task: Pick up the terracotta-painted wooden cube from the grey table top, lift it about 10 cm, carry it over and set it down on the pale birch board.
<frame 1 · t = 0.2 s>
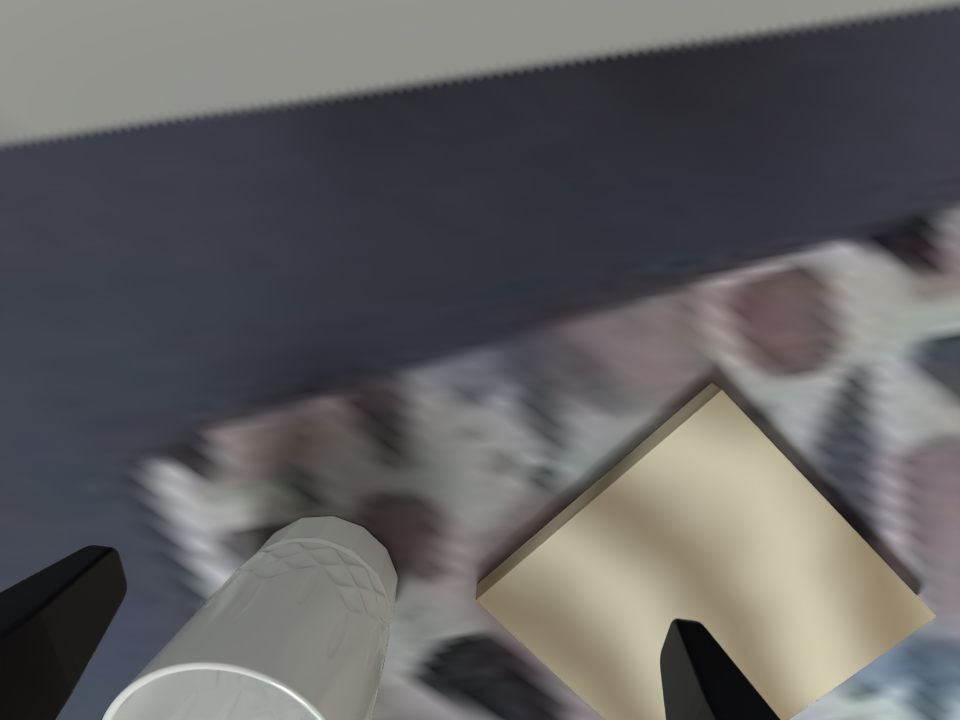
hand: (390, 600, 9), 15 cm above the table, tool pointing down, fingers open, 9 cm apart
white cup: (330, 576, 27), on the table
birch board: (692, 591, 25), on the table
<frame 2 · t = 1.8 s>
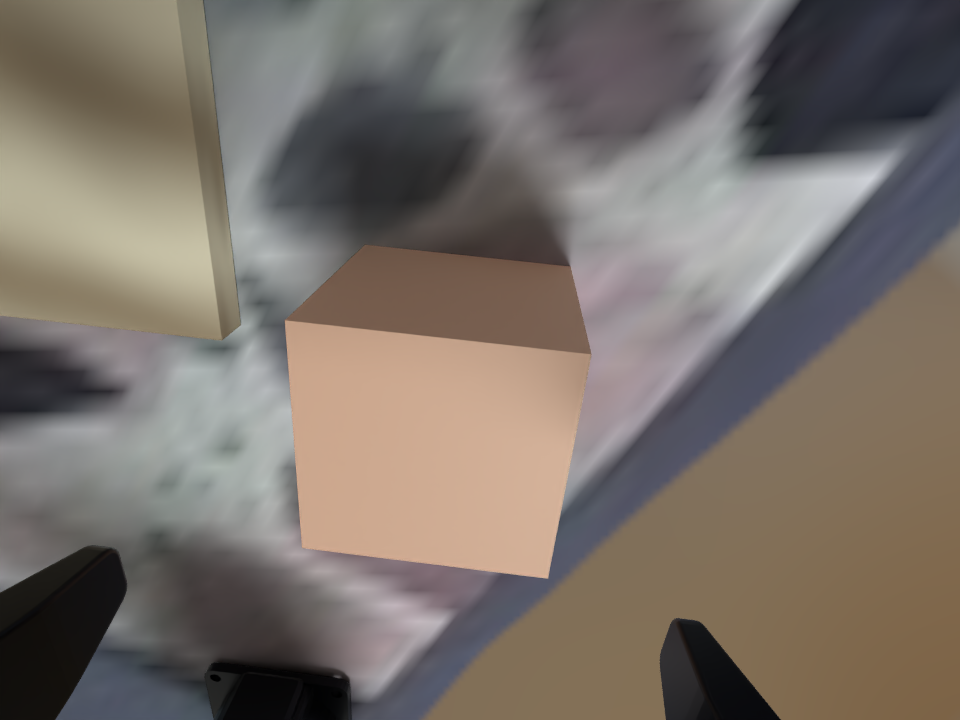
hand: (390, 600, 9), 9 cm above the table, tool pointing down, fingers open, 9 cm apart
terracotta cube: (460, 347, 17), on the table
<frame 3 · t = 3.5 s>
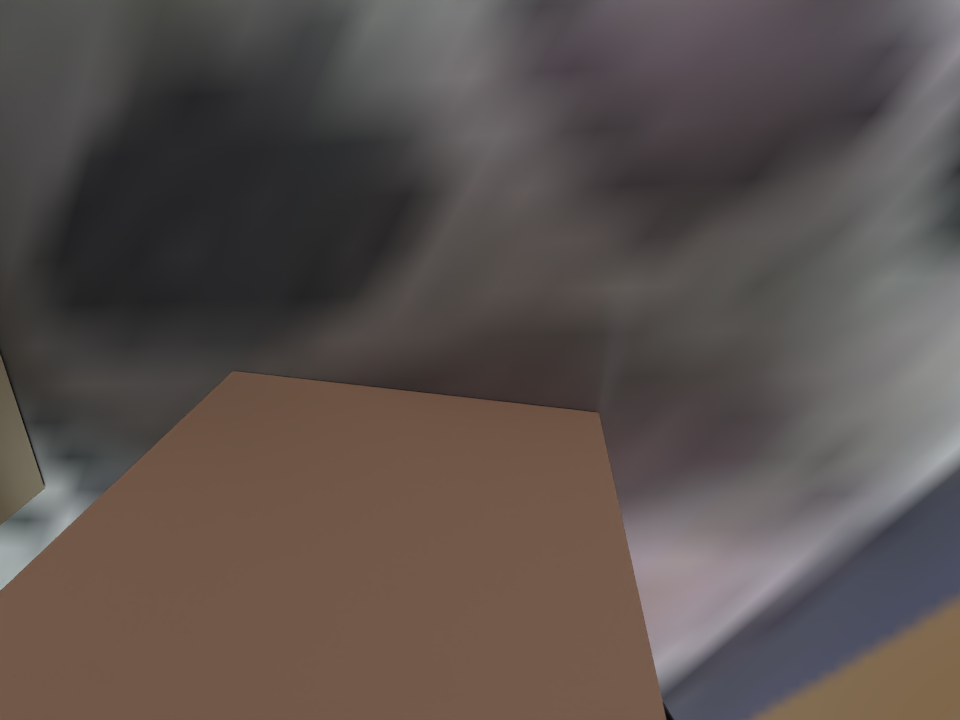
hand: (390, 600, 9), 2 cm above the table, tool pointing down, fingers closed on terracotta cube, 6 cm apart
terracotta cube: (408, 531, 10), on the table, touching gripper
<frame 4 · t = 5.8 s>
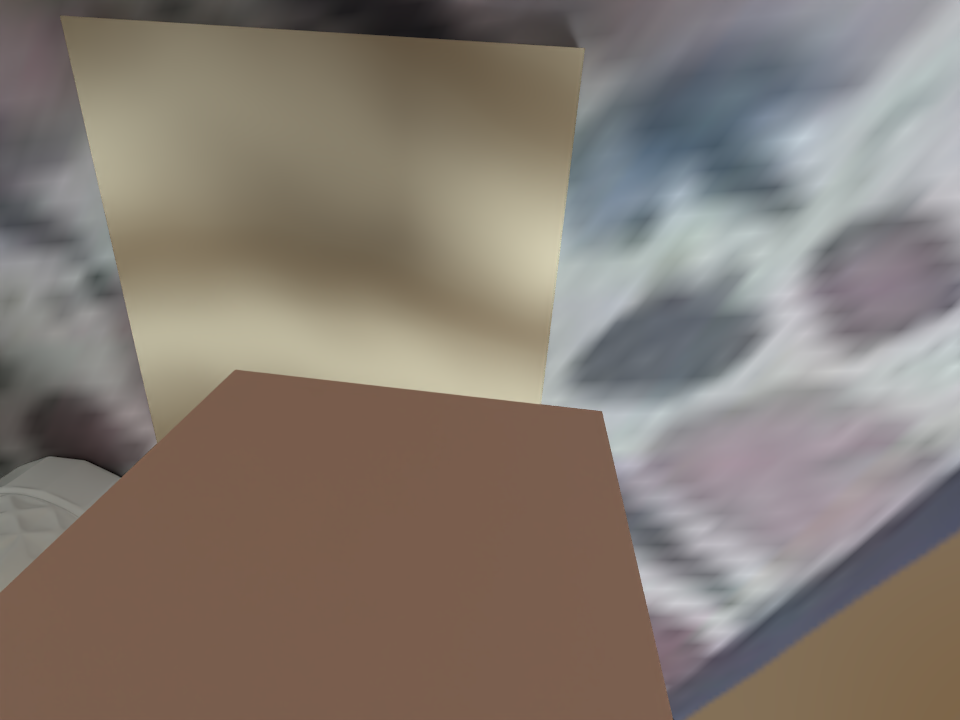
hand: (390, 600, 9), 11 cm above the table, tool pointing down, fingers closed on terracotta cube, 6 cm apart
white cup: (90, 514, 24), on the table
terracotta cube: (410, 530, 10), point 10 cm above the table, touching gripper
birch board: (342, 276, 19), on the table
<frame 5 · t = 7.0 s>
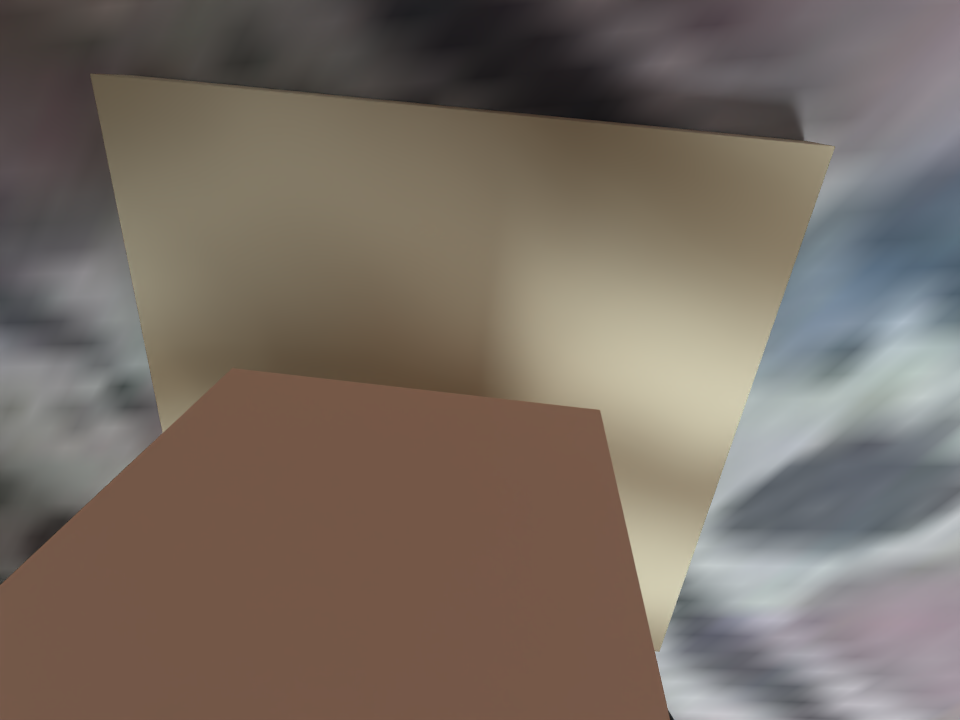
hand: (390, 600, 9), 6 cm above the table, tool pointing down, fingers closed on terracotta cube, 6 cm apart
terracotta cube: (408, 529, 10), point 5 cm above the table, touching gripper
birch board: (442, 399, 14), on the table
when the fingers open (4 cm above the table, at t = 8.2 s): terracotta cube drops 2 cm, resting on birch board.
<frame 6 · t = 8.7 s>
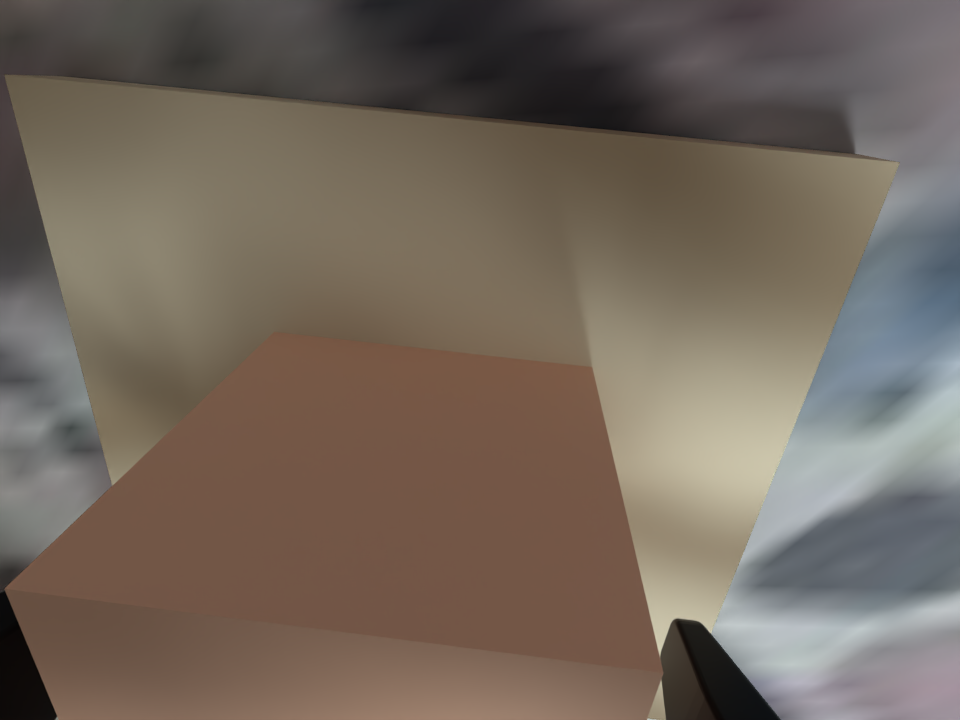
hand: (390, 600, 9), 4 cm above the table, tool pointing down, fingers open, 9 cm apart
terracotta cube: (425, 477, 12), point 1 cm above the table, touching birch board
birch board: (431, 445, 13), on the table
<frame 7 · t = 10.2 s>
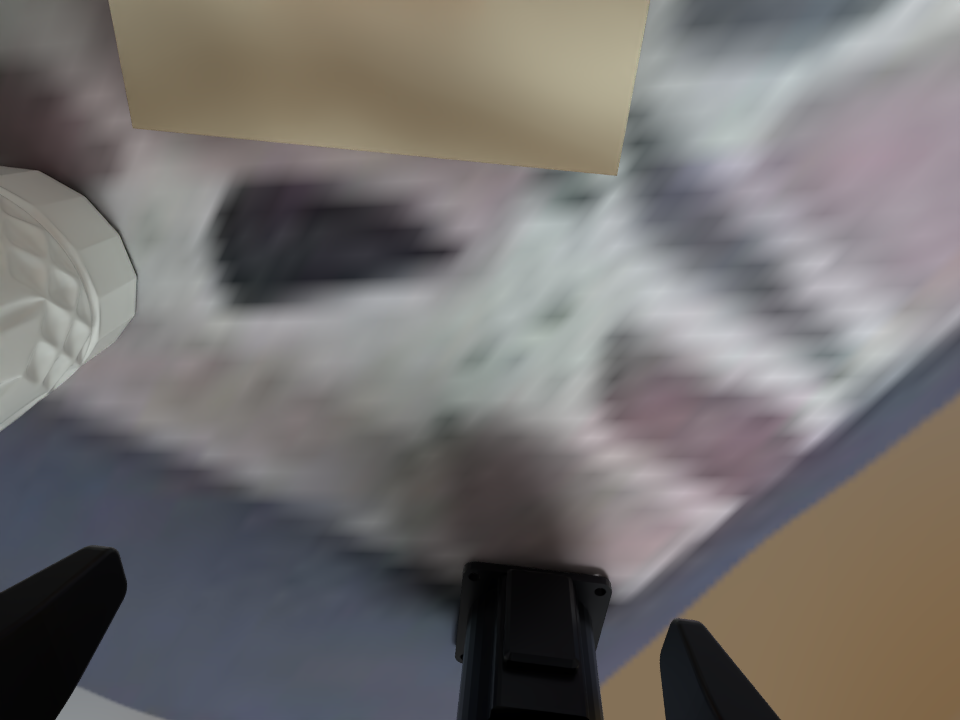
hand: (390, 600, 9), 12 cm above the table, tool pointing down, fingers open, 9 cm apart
white cup: (50, 262, 20), on the table
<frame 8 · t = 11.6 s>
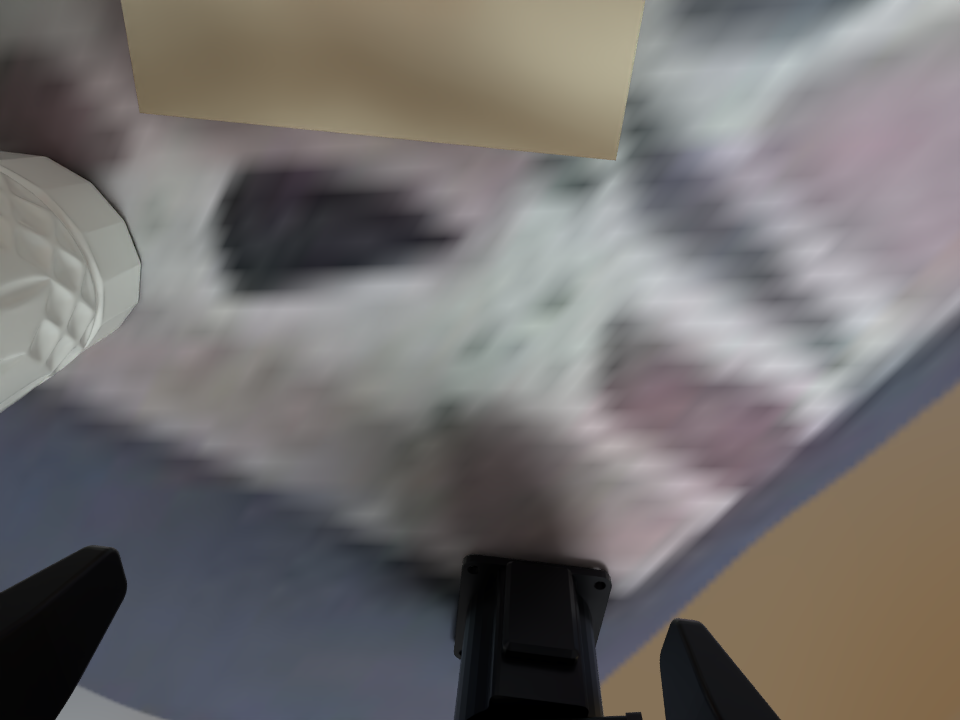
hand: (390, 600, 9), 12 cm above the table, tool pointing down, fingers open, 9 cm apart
white cup: (55, 249, 20), on the table
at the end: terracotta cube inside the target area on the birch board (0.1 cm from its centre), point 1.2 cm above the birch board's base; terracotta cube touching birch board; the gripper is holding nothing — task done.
